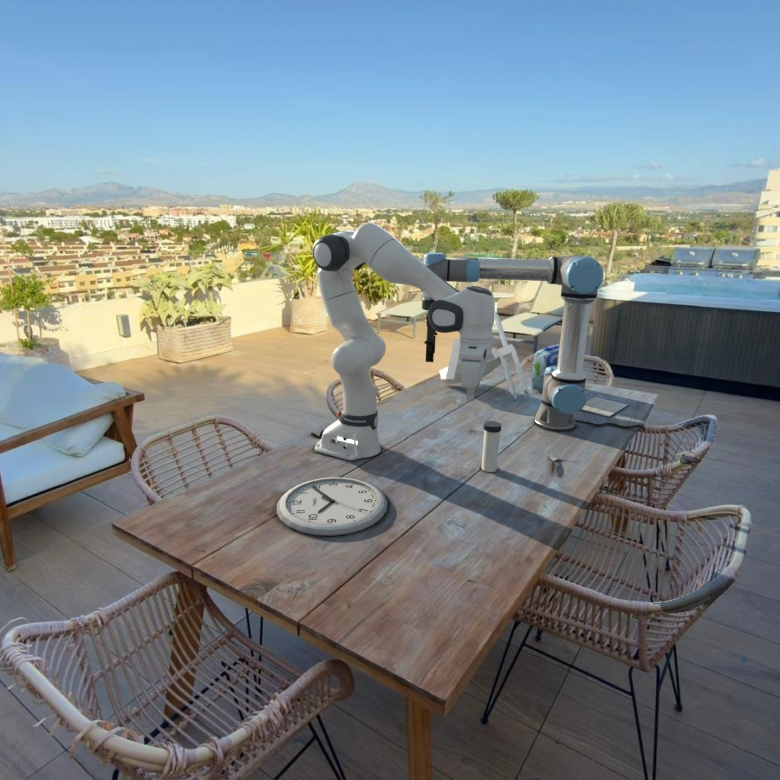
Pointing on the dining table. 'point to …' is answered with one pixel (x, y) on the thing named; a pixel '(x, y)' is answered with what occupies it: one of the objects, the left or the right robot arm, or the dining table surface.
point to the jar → (490, 451)
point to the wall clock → (331, 506)
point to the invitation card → (603, 406)
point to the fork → (554, 460)
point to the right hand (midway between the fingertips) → (430, 357)
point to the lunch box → (543, 365)
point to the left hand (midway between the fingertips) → (473, 395)
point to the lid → (492, 426)
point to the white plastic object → (487, 363)
